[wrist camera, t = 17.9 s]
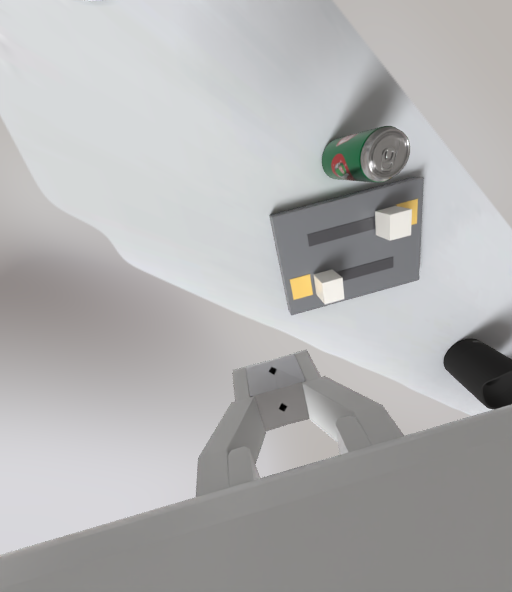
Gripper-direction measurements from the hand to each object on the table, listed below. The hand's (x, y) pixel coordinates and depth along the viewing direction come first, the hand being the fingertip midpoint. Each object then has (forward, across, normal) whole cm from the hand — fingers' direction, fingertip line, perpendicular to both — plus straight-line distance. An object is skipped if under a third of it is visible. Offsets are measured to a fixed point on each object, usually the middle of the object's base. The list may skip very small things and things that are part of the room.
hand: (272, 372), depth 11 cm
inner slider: (+29, -22, +4) cm, 36 cm away
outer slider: (+29, -12, +11) cm, 33 cm away
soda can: (+31, -17, -5) cm, 36 cm away
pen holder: (+32, -40, +38) cm, 63 cm away
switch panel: (+31, -17, +8) cm, 36 cm away
